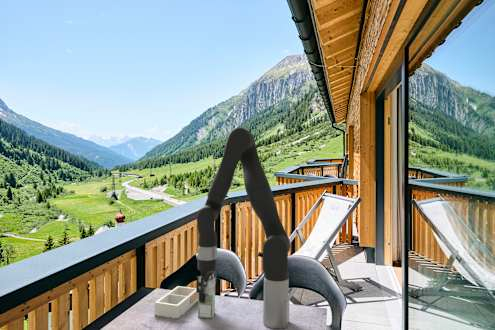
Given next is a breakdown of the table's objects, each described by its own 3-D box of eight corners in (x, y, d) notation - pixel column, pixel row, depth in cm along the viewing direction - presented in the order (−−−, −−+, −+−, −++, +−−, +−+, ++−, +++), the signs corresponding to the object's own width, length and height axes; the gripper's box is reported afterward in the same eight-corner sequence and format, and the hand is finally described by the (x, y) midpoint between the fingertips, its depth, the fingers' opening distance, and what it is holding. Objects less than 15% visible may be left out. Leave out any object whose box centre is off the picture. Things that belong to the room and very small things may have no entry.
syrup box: (215, 312, 144) (215, 276, 143) (212, 319, 138) (212, 281, 137) (201, 311, 144) (201, 275, 144) (197, 318, 138) (198, 280, 138)
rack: (199, 300, 155) (199, 288, 155) (178, 319, 137) (178, 306, 137) (177, 297, 158) (177, 285, 158) (154, 315, 140) (154, 302, 140)
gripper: (209, 262, 133) (208, 306, 133) (222, 253, 146) (222, 293, 147) (190, 260, 135) (189, 304, 135) (205, 251, 148) (205, 290, 149)
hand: (206, 298), depth 141 cm, fingers open, 8 cm apart
